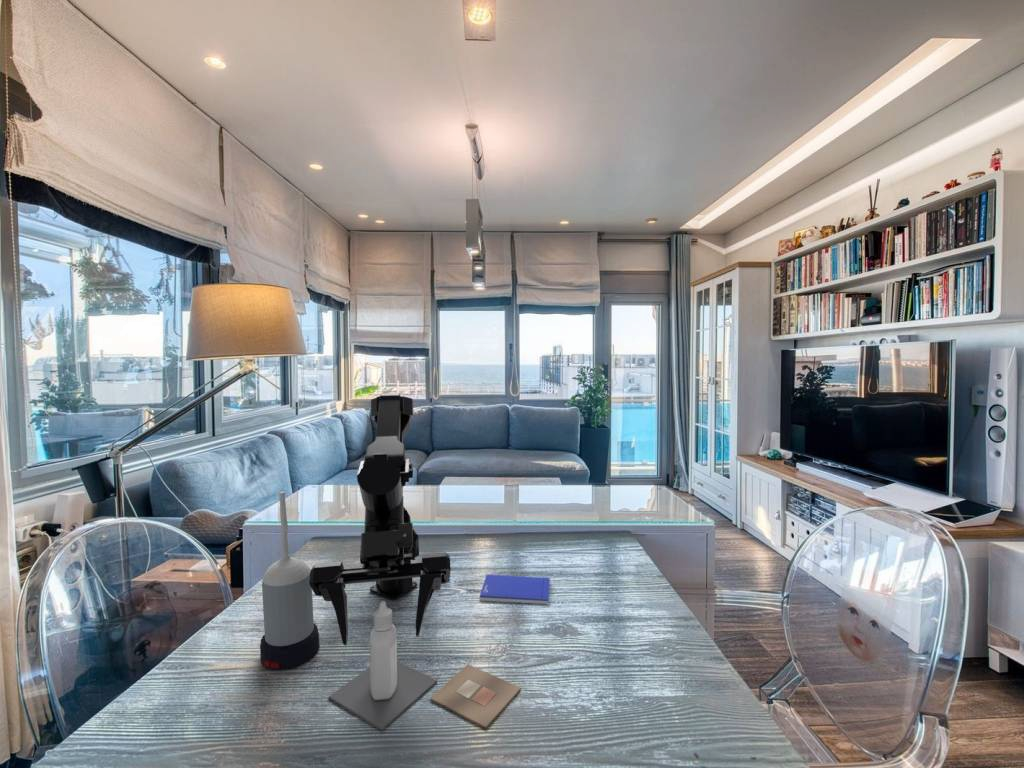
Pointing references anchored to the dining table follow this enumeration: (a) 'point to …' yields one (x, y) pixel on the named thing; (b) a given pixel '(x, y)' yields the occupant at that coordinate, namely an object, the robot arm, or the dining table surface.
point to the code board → (476, 695)
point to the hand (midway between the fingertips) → (381, 640)
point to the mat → (384, 711)
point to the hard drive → (515, 589)
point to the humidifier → (287, 609)
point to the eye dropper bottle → (383, 654)
